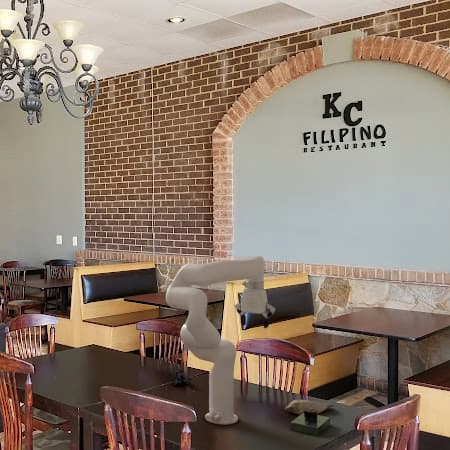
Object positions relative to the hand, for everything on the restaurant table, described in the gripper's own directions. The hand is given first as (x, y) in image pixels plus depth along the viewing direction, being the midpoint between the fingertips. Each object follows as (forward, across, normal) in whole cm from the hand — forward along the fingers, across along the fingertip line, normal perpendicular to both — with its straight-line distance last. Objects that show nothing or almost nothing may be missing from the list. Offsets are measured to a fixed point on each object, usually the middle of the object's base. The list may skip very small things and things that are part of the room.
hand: (254, 326), depth 257 cm
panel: (+34, +26, -12) cm, 45 cm away
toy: (+34, -42, +13) cm, 55 cm away
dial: (+31, +26, -12) cm, 42 cm away
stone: (+34, +20, +8) cm, 40 cm away
